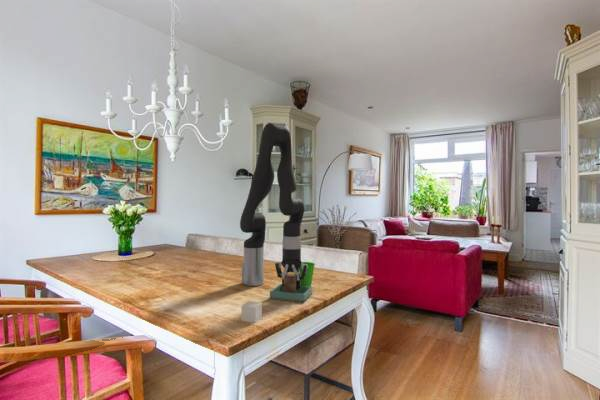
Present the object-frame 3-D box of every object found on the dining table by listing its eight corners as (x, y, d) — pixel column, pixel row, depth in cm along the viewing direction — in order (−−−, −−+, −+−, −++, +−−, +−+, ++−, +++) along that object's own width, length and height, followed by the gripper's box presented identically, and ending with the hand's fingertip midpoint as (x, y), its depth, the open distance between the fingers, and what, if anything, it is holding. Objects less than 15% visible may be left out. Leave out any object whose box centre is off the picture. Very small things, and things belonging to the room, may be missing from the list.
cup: (297, 292, 138) (297, 266, 138) (292, 286, 147) (292, 262, 146) (317, 290, 140) (317, 265, 140) (311, 285, 149) (311, 261, 149)
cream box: (241, 320, 105) (241, 305, 105) (248, 315, 110) (248, 301, 110) (255, 322, 104) (255, 307, 104) (261, 317, 109) (261, 302, 109)
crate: (269, 298, 128) (269, 291, 128) (279, 291, 139) (279, 284, 139) (304, 302, 124) (304, 294, 124) (312, 294, 135) (312, 286, 135)
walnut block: (283, 291, 130) (283, 276, 130) (287, 288, 135) (287, 273, 135) (295, 292, 128) (295, 277, 128) (298, 289, 133) (299, 274, 133)
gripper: (271, 247, 130) (271, 289, 130) (306, 249, 126) (305, 292, 126) (278, 244, 137) (278, 284, 137) (311, 246, 133) (310, 287, 133)
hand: (291, 288), depth 132 cm, fingers closed on walnut block, 5 cm apart
